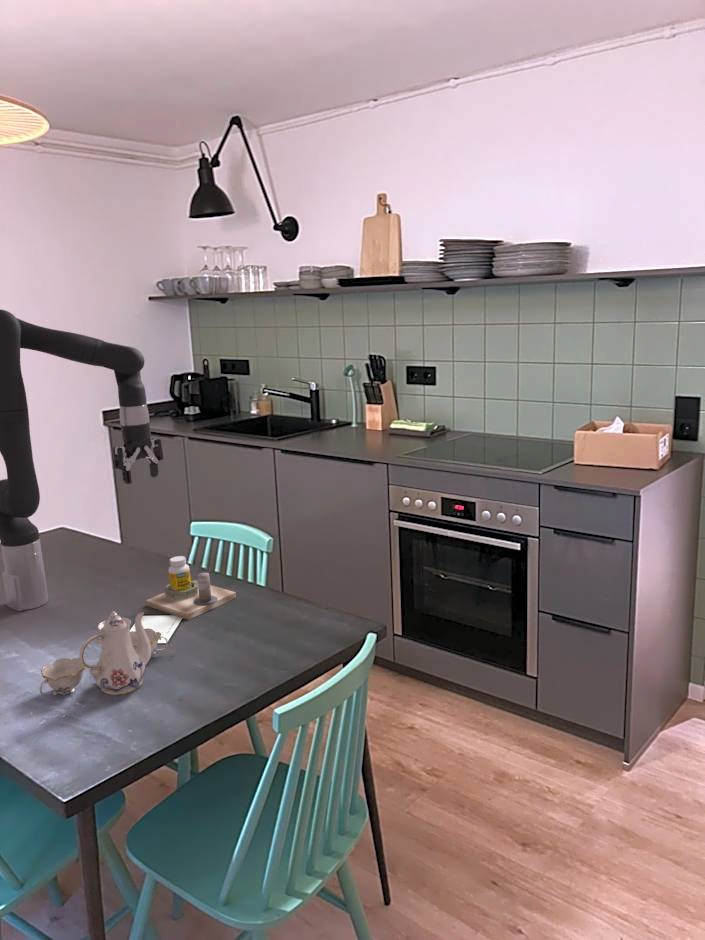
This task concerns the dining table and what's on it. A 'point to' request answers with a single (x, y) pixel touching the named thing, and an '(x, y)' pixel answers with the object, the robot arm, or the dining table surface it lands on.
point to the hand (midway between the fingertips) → (141, 480)
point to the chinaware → (108, 659)
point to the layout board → (191, 598)
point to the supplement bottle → (179, 574)
